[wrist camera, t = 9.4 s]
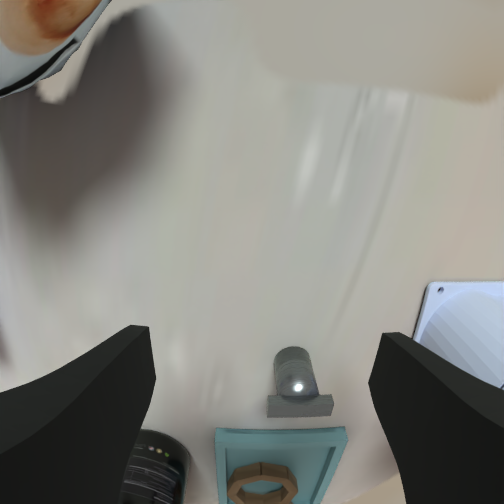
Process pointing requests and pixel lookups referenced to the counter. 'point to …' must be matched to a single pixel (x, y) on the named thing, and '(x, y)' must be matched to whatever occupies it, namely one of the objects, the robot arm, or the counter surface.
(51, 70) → the lucky cat figurine
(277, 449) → the tray
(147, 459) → the supplement bottle
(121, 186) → the counter surface
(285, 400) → the grey cylinder and bar
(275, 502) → the ring
